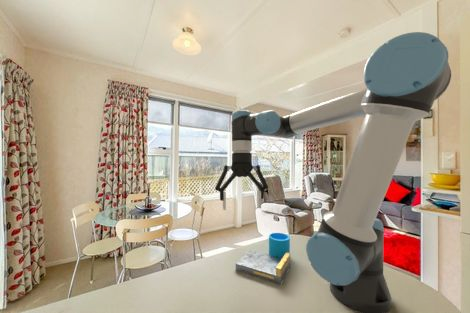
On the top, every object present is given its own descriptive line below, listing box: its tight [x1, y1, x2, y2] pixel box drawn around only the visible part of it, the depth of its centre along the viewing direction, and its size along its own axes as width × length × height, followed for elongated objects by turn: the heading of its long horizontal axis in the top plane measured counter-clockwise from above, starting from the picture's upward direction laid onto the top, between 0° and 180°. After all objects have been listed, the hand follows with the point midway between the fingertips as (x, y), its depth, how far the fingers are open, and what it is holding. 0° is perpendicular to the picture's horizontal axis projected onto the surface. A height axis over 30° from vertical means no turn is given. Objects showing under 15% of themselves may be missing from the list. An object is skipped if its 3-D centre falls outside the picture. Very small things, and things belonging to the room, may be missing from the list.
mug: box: [268, 232, 291, 258], centre depth 83 cm, size 12×8×8 cm
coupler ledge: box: [235, 249, 291, 286], centre depth 73 cm, size 16×12×5 cm
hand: (242, 208), depth 77 cm, fingers open, 13 cm apart
